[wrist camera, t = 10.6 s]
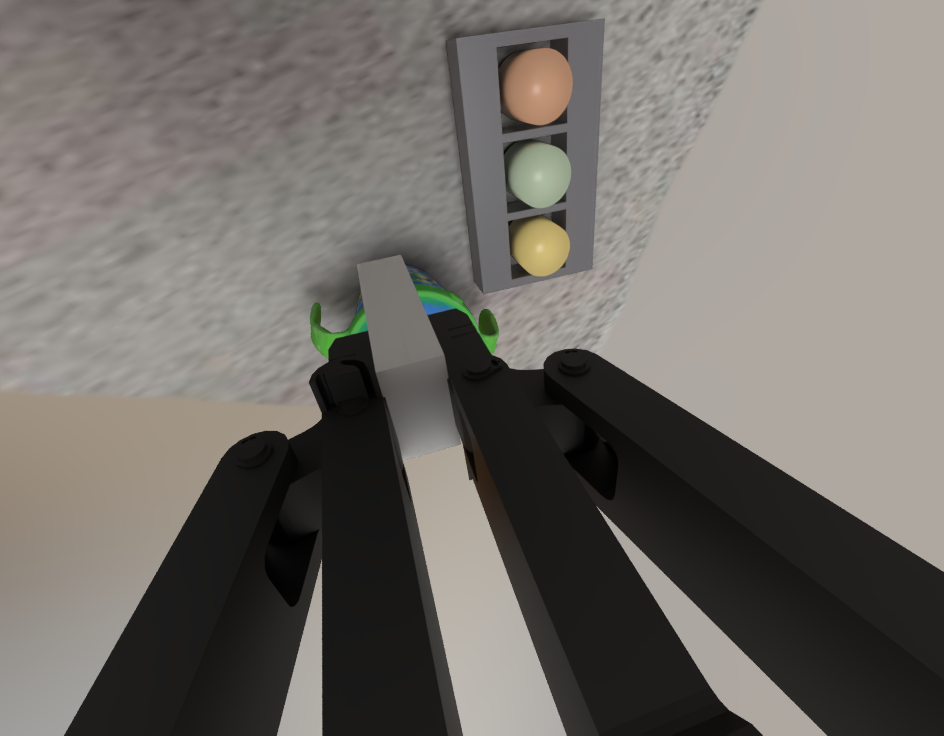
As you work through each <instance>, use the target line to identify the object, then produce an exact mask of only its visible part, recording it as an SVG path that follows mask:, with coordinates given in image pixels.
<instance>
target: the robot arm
mask: <svg viewBox="0 0 944 736" xmlns="http://www.w3.org/2000/svg"><path fill="white" fill-rule="evenodd" d="M356 265H357V271H358V276H359V282H360V287H361V293H362V299H363V304H364V310H365V316H366V321H367V327H368V331H364V332H360V333H356V334H352V335H348V336H343V337H339V338H335V340H334V341H333V343H332V345H331V346H330V348H329V349H328V360H329V362H328V363H326V364H324V365H323V366H321V367H319V368H318V369H317V370H316V371H315V372H314V373H313V374H312V376H311V378H310V381H309V384H310V386H311V389H312V391H313V394H314V396H315V398H316V401H317V403H318V405H319V408H320V410H321V412H322V419H321V420H320V421H319V422H318V423H317V424H315V425H314V426H313V427H312V428H310V429H308V430H306V431H305V432H303V433H301V434H299V435H297V436H295V437H293V438H291V439H289V440H288V439H287V437H286V436H285V435H284V434H282V433H280V432H278V431H263V432H259V433H255V434H252V435H250V436H248V437H246V438H244V439H242V440H240V441H239V442H237V443H236V444H235V445H233V446H232V447H231V448H229V450H228V451H227V452H226V453H225V455H224V456H223V457H222V458H221V460H220V462H219V464H218V465H217V467H216V469H215V471H214V472H213V474H212V476H211V478H210V480H209V481H208V483H207V485H206V487H205V488H204V490H203V492H202V494H201V495H200V497H199V499H198V501H197V502H196V504H195V506H194V508H193V509H192V511H191V513H190V515H189V516H188V518H187V520H186V522H185V524H184V525H183V527H182V529H181V531H180V532H179V534H178V536H177V538H176V539H175V541H174V543H173V545H172V546H171V548H170V550H169V552H168V554H167V555H166V557H165V559H164V560H163V562H162V564H161V566H160V568H159V569H158V571H157V573H156V575H155V576H154V578H153V580H152V582H151V583H150V585H149V587H148V589H147V590H146V593H145V594H144V596H143V597H142V599H141V601H140V603H139V605H138V606H137V608H136V610H135V612H134V613H133V615H132V617H131V619H130V620H129V622H128V624H127V626H126V627H125V629H124V631H123V633H122V634H121V636H120V638H119V640H118V641H117V643H116V645H115V647H114V649H113V650H112V652H111V654H110V656H109V657H108V659H107V661H106V663H105V664H104V666H103V668H102V670H101V672H100V673H99V675H98V677H97V679H96V680H95V682H94V684H93V686H92V687H91V689H90V691H89V693H88V694H87V696H86V698H85V700H84V701H83V703H82V705H81V707H80V708H79V710H78V712H77V714H76V716H75V717H74V719H73V721H72V723H71V724H70V726H69V728H68V730H67V731H66V733H65V735H64V736H277V732H278V728H279V725H280V721H281V717H282V713H283V709H284V705H285V701H286V697H287V693H288V689H289V685H290V681H291V677H292V674H293V669H294V665H295V662H296V658H297V654H298V650H299V646H300V642H301V638H302V634H303V630H304V626H305V622H306V618H307V614H308V611H309V607H310V603H311V599H312V595H313V591H314V587H315V583H316V579H317V576H318V572H319V568H320V564H321V560H322V699H323V700H322V723H323V724H322V726H323V727H322V730H323V731H322V732H323V733H322V735H323V736H463V733H462V728H461V724H460V719H459V715H458V710H457V705H456V700H455V696H454V692H453V687H452V682H451V677H450V673H449V668H448V663H447V659H446V654H445V649H444V645H443V640H442V635H441V631H440V626H439V621H438V617H437V612H436V607H435V603H434V598H433V594H432V589H431V584H430V580H429V575H428V570H427V565H426V561H425V556H424V551H423V547H422V542H421V538H420V533H419V528H418V524H417V519H416V514H415V509H414V505H413V500H412V496H411V491H410V486H409V482H408V477H407V474H406V470H405V467H404V464H403V461H405V460H408V459H412V458H415V457H418V456H422V455H425V454H429V453H432V452H435V451H439V450H442V449H446V448H449V447H452V446H456V445H459V444H461V441H462V443H463V448H464V453H465V459H466V464H467V469H468V475H469V480H472V479H473V481H474V484H475V486H476V489H477V492H478V494H479V497H480V500H481V502H482V505H483V508H484V511H485V514H486V516H487V519H488V522H489V524H490V527H491V530H492V532H493V535H494V538H495V541H496V543H497V546H498V549H499V552H500V554H501V557H502V560H503V562H504V565H505V568H506V570H507V574H508V576H509V579H510V582H511V584H512V587H513V590H514V593H515V595H516V598H517V601H518V603H519V606H520V609H521V611H522V614H523V617H524V620H525V622H526V625H527V628H528V631H529V633H530V636H531V639H532V642H533V644H534V647H535V650H536V653H537V655H538V658H539V661H540V663H541V666H542V669H543V671H544V674H545V677H546V680H547V683H548V685H549V688H550V690H551V693H552V696H553V699H554V702H555V704H556V707H557V710H558V713H559V715H560V718H561V721H562V723H563V726H564V729H565V732H566V734H567V736H763V735H762V734H761V733H760V732H759V731H758V730H757V729H756V728H755V727H754V726H753V725H752V724H751V723H749V722H748V721H746V720H744V719H742V718H741V717H739V716H738V715H736V714H734V713H733V712H731V711H729V710H728V709H727V708H726V707H725V706H724V705H723V703H722V702H721V701H720V700H719V699H718V697H717V696H716V695H715V693H714V692H713V691H712V689H711V688H710V686H709V684H708V683H707V682H706V680H705V678H704V676H703V675H702V673H701V672H700V670H699V669H698V667H697V666H696V664H695V662H694V661H693V659H692V658H691V656H690V654H689V653H688V651H687V650H686V648H685V647H684V645H683V643H682V642H681V640H680V638H679V637H678V635H677V634H676V632H675V630H674V629H673V627H672V626H671V624H670V623H669V621H668V619H667V618H666V616H665V615H664V613H663V611H662V610H661V608H660V607H659V605H658V603H657V602H656V600H655V599H654V597H653V595H652V594H651V592H650V591H649V589H648V588H647V586H646V584H645V583H644V581H643V580H642V578H641V576H640V575H639V573H638V572H637V570H636V568H635V567H634V565H633V564H632V562H631V561H630V559H629V557H628V556H627V554H626V553H625V551H624V549H623V548H622V546H621V545H620V543H619V541H618V540H617V538H616V537H615V535H614V534H613V532H612V530H611V529H610V527H609V526H608V524H607V522H606V521H605V519H604V518H603V516H602V514H601V513H600V511H599V510H598V508H599V509H600V510H601V511H602V512H603V513H604V514H605V515H606V516H607V517H608V518H609V519H610V520H611V521H612V522H613V523H614V524H615V525H616V526H617V527H618V528H619V529H620V530H621V531H622V532H623V533H624V534H625V535H626V536H627V537H628V538H629V539H630V540H631V541H632V542H633V543H634V544H635V545H636V546H637V547H638V548H639V549H640V550H641V551H642V552H643V553H644V554H645V555H646V556H647V557H648V558H649V559H650V560H651V561H652V562H653V563H654V564H655V565H657V566H658V568H659V569H660V570H662V572H663V573H664V574H665V575H666V576H667V577H669V578H670V580H671V581H672V582H674V584H675V585H676V586H677V587H679V589H681V590H682V591H683V592H684V593H685V594H686V595H687V596H688V597H689V598H690V599H691V600H692V601H693V602H694V603H695V604H696V605H697V606H698V607H699V608H700V609H701V610H702V611H703V612H704V613H705V614H706V615H707V616H708V617H709V618H710V619H711V620H712V621H713V622H714V623H715V624H716V625H717V626H718V627H719V628H720V629H721V630H722V631H723V632H724V633H725V634H726V635H727V636H728V637H729V638H730V639H731V640H732V641H733V642H734V643H735V644H736V645H737V646H738V647H739V648H740V649H741V650H742V651H743V652H744V653H745V654H746V655H747V656H748V657H749V658H750V659H751V660H752V661H753V662H754V663H755V664H756V665H757V666H758V667H759V668H760V669H761V670H762V671H763V672H764V673H765V674H766V675H767V676H768V677H769V678H770V679H771V680H772V681H773V682H774V683H775V684H776V685H777V686H778V687H779V688H780V689H781V690H782V691H783V692H784V693H785V694H786V695H787V696H788V697H789V698H790V699H791V700H792V701H793V702H794V703H795V704H796V705H797V706H798V707H799V708H800V709H801V710H802V711H804V713H805V714H806V715H807V716H808V717H809V718H810V719H811V720H813V722H814V723H815V724H817V726H818V727H819V728H820V729H822V731H823V732H824V733H825V734H826V735H827V736H944V572H943V571H941V570H939V569H938V568H936V567H935V566H933V565H932V564H930V563H928V562H927V561H925V560H924V559H922V558H920V557H919V556H917V555H916V554H914V553H912V552H911V551H909V550H907V549H906V548H904V547H903V546H901V545H900V544H898V543H896V542H895V541H893V540H892V539H890V538H889V537H887V536H885V535H884V534H882V533H881V532H879V531H877V530H875V529H874V528H873V527H871V526H869V525H868V524H866V523H865V522H863V521H861V520H860V519H858V518H857V517H855V516H853V515H852V514H850V513H849V512H847V511H845V510H844V509H842V508H841V507H839V506H837V505H836V504H834V503H833V502H831V501H830V500H828V499H826V498H824V497H823V496H822V495H820V494H818V493H817V492H815V491H814V490H812V489H810V488H809V487H807V486H806V485H804V484H802V483H801V482H799V481H798V480H796V479H794V478H793V477H791V476H790V475H788V474H786V473H785V472H783V471H782V470H780V469H779V468H777V467H775V466H774V465H772V464H770V463H769V462H767V461H766V460H764V459H763V458H761V457H759V456H758V455H756V454H755V453H753V452H751V451H750V450H748V449H747V448H745V447H743V446H742V445H740V444H738V443H737V442H736V441H734V440H732V439H731V438H729V437H728V436H726V435H724V434H723V433H721V432H720V431H718V430H716V429H715V428H713V427H712V426H710V425H708V424H707V423H705V422H704V421H702V420H700V419H699V418H697V417H696V416H694V415H692V414H691V413H689V412H688V411H686V410H684V409H683V408H681V407H680V406H678V405H677V404H675V403H673V402H672V401H670V400H669V399H667V398H665V397H664V396H662V395H660V394H659V393H657V392H656V391H654V390H653V389H651V388H649V387H648V386H646V385H645V384H643V383H641V382H640V381H638V380H637V379H635V378H634V377H632V376H630V375H628V374H627V373H626V372H624V371H622V370H621V369H619V368H618V367H616V366H614V365H613V364H611V363H610V362H608V361H606V360H605V359H603V358H602V357H600V356H598V355H597V354H595V353H592V352H590V351H588V350H582V349H564V350H561V351H557V352H554V353H553V354H551V355H550V356H548V357H547V359H546V360H545V362H544V369H538V370H516V369H511V368H509V367H508V365H507V364H506V363H505V362H504V361H503V360H502V359H501V358H498V357H496V356H493V355H492V354H491V353H490V351H489V349H488V348H487V346H486V344H485V343H484V341H483V339H482V338H481V336H480V334H479V333H478V332H477V329H476V328H475V326H474V325H473V323H472V321H471V320H470V318H469V316H468V315H467V314H466V313H464V312H462V311H460V310H458V309H456V308H455V309H450V310H446V311H442V312H438V313H434V314H430V315H427V314H426V311H425V309H424V307H423V305H422V302H421V300H420V298H419V295H418V293H417V291H416V288H415V286H414V284H413V281H412V279H411V277H410V275H409V272H408V270H407V268H406V265H405V263H404V261H403V258H402V256H401V255H397V256H392V257H387V258H383V259H378V260H374V261H369V262H364V263H360V264H356ZM459 435H460V436H459ZM460 438H461V441H460ZM596 506H597V507H598V508H597V507H596Z"/></svg>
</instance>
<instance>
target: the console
mask: <svg viewBox="0 0 944 736" xmlns="http://www.w3.org/2000/svg"><path fill="white" fill-rule="evenodd" d="M604 22H605V18H604V19H596V20H589V21H581V22H574V23H566V24H559V25H551V26H544V27H536V28H528V29H521V30H513V31H506V32H498V33H491V34H483V35H476V36H468V37H461V38H455V39H451V40H447V41H446V45H447V54H448V62H449V71H450V79H451V87H452V96H453V104H454V113H455V121H456V130H457V138H458V146H459V155H460V163H461V172H462V180H463V189H464V197H465V205H466V214H467V222H468V231H469V239H470V248H471V256H472V264H473V273H474V281H475V283H476V285H477V286H478V287H479V289H480V290H481V291H482V293H483V294H487V293H491V292H496V291H500V290H504V289H509V288H513V287H517V286H521V285H526V284H530V283H534V282H539V281H543V280H547V279H552V278H556V277H560V276H564V275H569V274H573V273H577V272H582V271H586V270H590V269H592V265H593V245H594V224H595V204H596V184H597V164H598V144H599V123H600V103H601V83H602V63H603V43H604ZM548 40H551V49H554V50H556V51H558V52H559V53H561V54H562V55H563V56H564V57H565V59H566V60H567V62H568V64H569V66H570V68H571V72H572V78H573V87H572V94H571V97H570V100H569V103H568V105H567V107H566V108H565V110H564V111H563V113H562V114H561V115H560V116H559V117H558V118H557V119H555V120H554V121H552V122H551V123H548V124H545V125H534V124H525V125H519V126H514V127H508V128H502V124H501V109H500V94H499V78H498V63H497V47H504V46H512V45H519V44H526V43H533V42H541V41H548ZM546 135H551V145H552V146H555V147H557V148H559V149H561V150H562V151H563V152H564V153H565V154H566V156H567V157H568V159H569V162H570V165H571V179H570V183H569V186H568V188H567V190H566V192H565V194H564V195H563V196H562V197H561V199H560V200H559V201H557V202H556V203H555V204H553V205H551V206H549V207H545V208H535V207H532V206H530V205H528V204H526V203H525V202H523V201H522V200H521V201H516V202H511V203H507V201H506V186H505V170H504V155H503V143H506V142H512V141H518V140H523V139H529V138H535V137H541V136H546ZM549 212H552V222H553V223H555V224H556V225H558V226H560V227H561V228H562V229H564V230H565V232H566V233H567V235H568V237H569V241H570V250H569V254H568V257H567V259H566V261H565V262H564V264H563V265H562V266H561V267H560V268H559V269H558V270H557V271H556V272H554V273H552V274H550V275H547V276H534V275H532V274H530V273H528V272H527V271H526V270H525V269H524V268H523V267H522V266H521V265H520V264H518V265H513V266H511V262H510V247H509V232H508V221H511V220H515V219H520V218H525V217H530V216H535V215H540V214H545V213H549Z"/></svg>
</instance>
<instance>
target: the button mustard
mask: <svg viewBox="0 0 944 736" xmlns="http://www.w3.org/2000/svg"><path fill="white" fill-rule="evenodd" d="M508 232H509V247H510V255H511V256H512V257H513V258H514V259H515V260H516V261H517V262H518V263H519V264H520V265H521V266H522V267H523V268H524V269H525V270H526V271H527V272H528V273H530V274H532V275H534V276H547V275H550V274H552V273H554V272H556V271H557V270H558V269H559V268H560V267H561V266H562V265H563V264H564V262H565V261H566V259H567V257H568V254H569V250H570V241H569V237H568V235H567V233H566V232H565V230H564V229H562V228H561V227H560V226H558V225H556V224H555V223H553V222H552V221H550V220H549V219H547V218H546V217H544V216H542V215H541V214H540V215H535V216H530V217H525V218H520V219H515V220H514V221H513V222H512V223H511V224H510V226H509V227H508Z"/></svg>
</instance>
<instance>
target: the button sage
mask: <svg viewBox="0 0 944 736" xmlns="http://www.w3.org/2000/svg"><path fill="white" fill-rule="evenodd" d="M504 170H505V186H506V190H507V191H508V192H509V193H511V194H512V195H514V196H515V197H517V198H518V199H520V200H522V201H523V202H525V203H526V204H528V205H530V206H532V207H535V208H545V207H549V206H551V205H553V204H555V203H556V202H557V201H559V200H560V199H561V197H562V196H563V195H564V194H565V192H566V190H567V188H568V186H569V183H570V179H571V165H570V162H569V159H568V157H567V156H566V154H565V153H564V152H563V151H562V150H561V149H559V148H557V147H555V146H552V145H549V144H545V143H542V142H539V141H536V140H532V139H524V140H521V141H518V142H516V143H515V144H513V145H512V146H511V147H510V148H509V149H508V150H507V152H506V153H505V155H504Z"/></svg>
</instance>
